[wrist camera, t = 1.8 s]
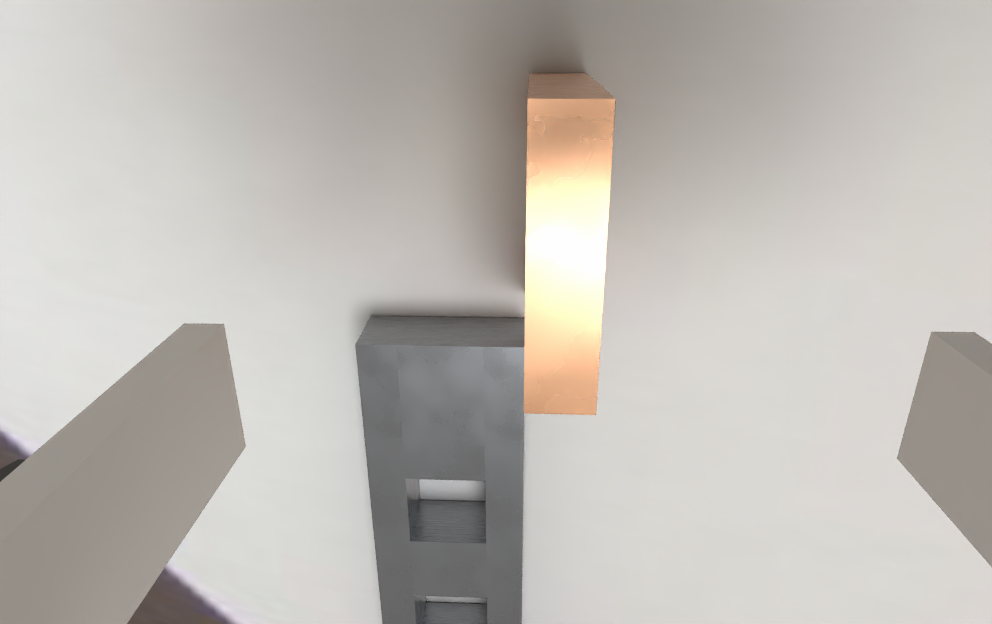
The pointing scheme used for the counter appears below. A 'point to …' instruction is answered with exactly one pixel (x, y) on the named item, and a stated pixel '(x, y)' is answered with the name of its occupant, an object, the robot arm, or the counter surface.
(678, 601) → the counter surface
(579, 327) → the brown wooden block
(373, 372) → the rail
